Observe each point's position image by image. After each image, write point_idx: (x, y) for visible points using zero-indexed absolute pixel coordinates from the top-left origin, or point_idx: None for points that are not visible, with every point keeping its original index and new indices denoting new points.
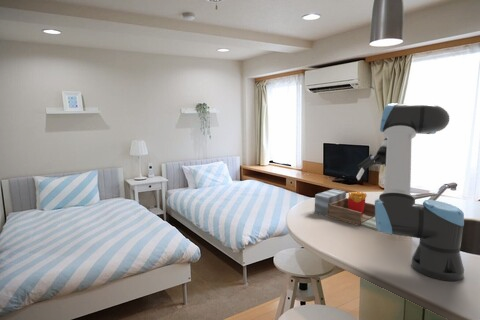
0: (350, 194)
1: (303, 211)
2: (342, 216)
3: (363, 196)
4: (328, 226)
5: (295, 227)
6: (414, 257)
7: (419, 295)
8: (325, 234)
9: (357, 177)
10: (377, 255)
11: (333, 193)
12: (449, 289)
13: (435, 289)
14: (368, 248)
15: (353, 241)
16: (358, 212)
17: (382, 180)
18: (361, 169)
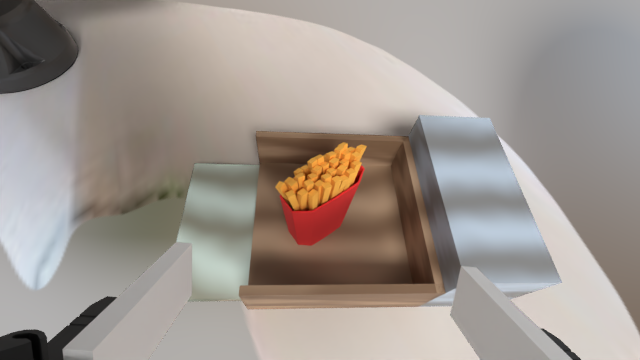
0: (351, 149)
1: None
2: None
3: (288, 178)
4: (329, 103)
5: (378, 55)
6: (61, 28)
7: None
8: (301, 63)
9: (461, 271)
10: (155, 46)
11: (468, 189)
12: None
13: None
14: (182, 60)
15: (227, 69)
16: (266, 131)
17: (167, 251)
18: (549, 352)
